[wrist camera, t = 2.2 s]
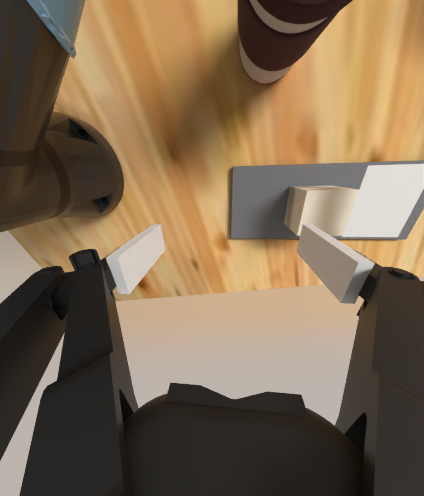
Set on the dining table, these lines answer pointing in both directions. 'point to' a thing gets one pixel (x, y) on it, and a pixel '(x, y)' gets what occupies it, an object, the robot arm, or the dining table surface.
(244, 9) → the coffee cup
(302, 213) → the birch cube
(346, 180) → the charcoal mat
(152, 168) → the dining table surface
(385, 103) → the dining table surface
